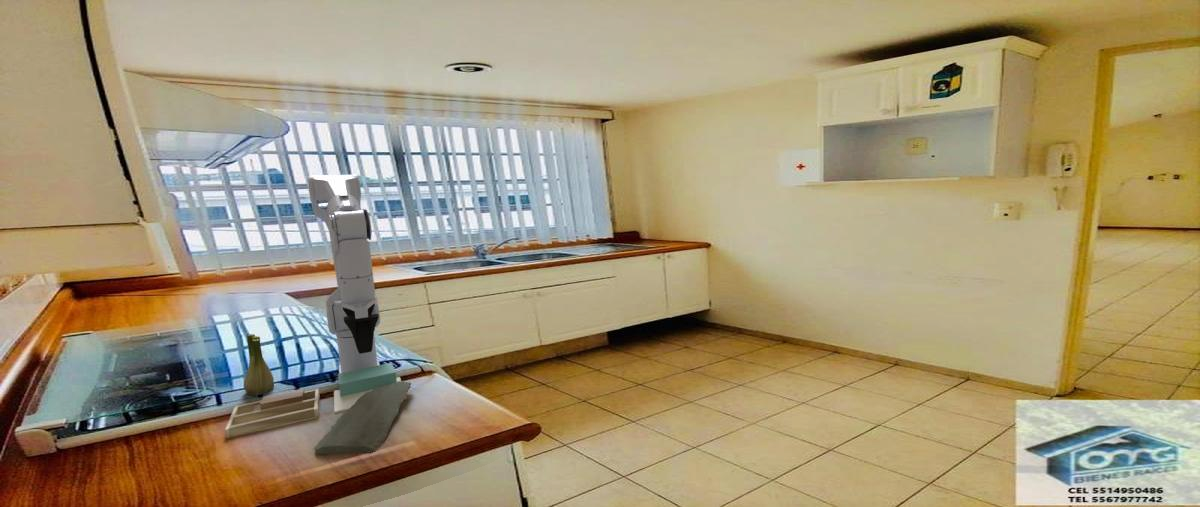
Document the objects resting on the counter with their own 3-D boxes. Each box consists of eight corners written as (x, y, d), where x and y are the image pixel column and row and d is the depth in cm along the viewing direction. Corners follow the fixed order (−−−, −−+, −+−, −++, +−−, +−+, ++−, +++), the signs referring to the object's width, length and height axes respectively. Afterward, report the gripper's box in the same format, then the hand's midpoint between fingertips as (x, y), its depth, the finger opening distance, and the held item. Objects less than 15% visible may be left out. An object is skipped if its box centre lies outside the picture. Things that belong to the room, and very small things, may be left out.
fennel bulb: (270, 396, 95) (261, 338, 93) (240, 401, 93) (231, 341, 91) (278, 385, 100) (270, 329, 98) (250, 389, 98) (241, 332, 96)
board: (340, 396, 92) (339, 385, 97) (396, 384, 96) (392, 374, 102) (338, 384, 91) (337, 373, 96) (395, 372, 96) (391, 362, 101)
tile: (334, 394, 94) (334, 390, 94) (400, 380, 100) (399, 376, 100) (334, 415, 86) (334, 411, 86) (406, 399, 91) (406, 395, 91)
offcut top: (264, 403, 88) (263, 396, 88) (304, 395, 91) (304, 389, 91) (261, 410, 85) (260, 403, 85) (303, 401, 88) (302, 395, 88)
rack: (237, 415, 87) (235, 405, 87) (319, 397, 93) (318, 388, 93) (226, 441, 78) (224, 429, 78) (318, 419, 85) (317, 408, 84)
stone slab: (312, 465, 72) (379, 452, 73) (307, 449, 72) (375, 436, 73) (366, 395, 94) (417, 386, 95) (362, 382, 94) (414, 373, 94)
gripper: (331, 272, 94) (339, 339, 96) (331, 285, 81) (341, 362, 83) (371, 268, 97) (378, 333, 99) (377, 280, 84) (385, 354, 86)
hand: (364, 346), depth 91 cm, fingers open, 7 cm apart
